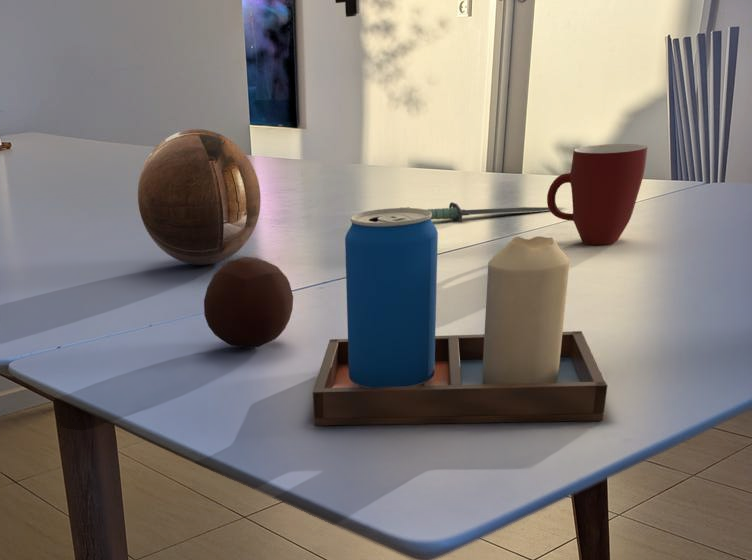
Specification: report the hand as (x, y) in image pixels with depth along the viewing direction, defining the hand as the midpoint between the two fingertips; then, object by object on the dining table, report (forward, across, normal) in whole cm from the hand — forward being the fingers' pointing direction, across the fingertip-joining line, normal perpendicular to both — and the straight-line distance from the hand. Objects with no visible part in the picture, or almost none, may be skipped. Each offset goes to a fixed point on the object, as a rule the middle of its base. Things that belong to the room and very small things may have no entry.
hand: (427, 8), depth 59 cm
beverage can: (+24, -3, -3) cm, 24 cm away
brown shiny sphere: (+24, -27, +48) cm, 61 cm away
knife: (+25, +8, +71) cm, 76 cm away
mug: (+25, +20, +50) cm, 59 cm away
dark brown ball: (+24, -16, +11) cm, 31 cm away
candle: (+24, +7, -3) cm, 25 cm away
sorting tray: (+24, +2, -3) cm, 25 cm away
